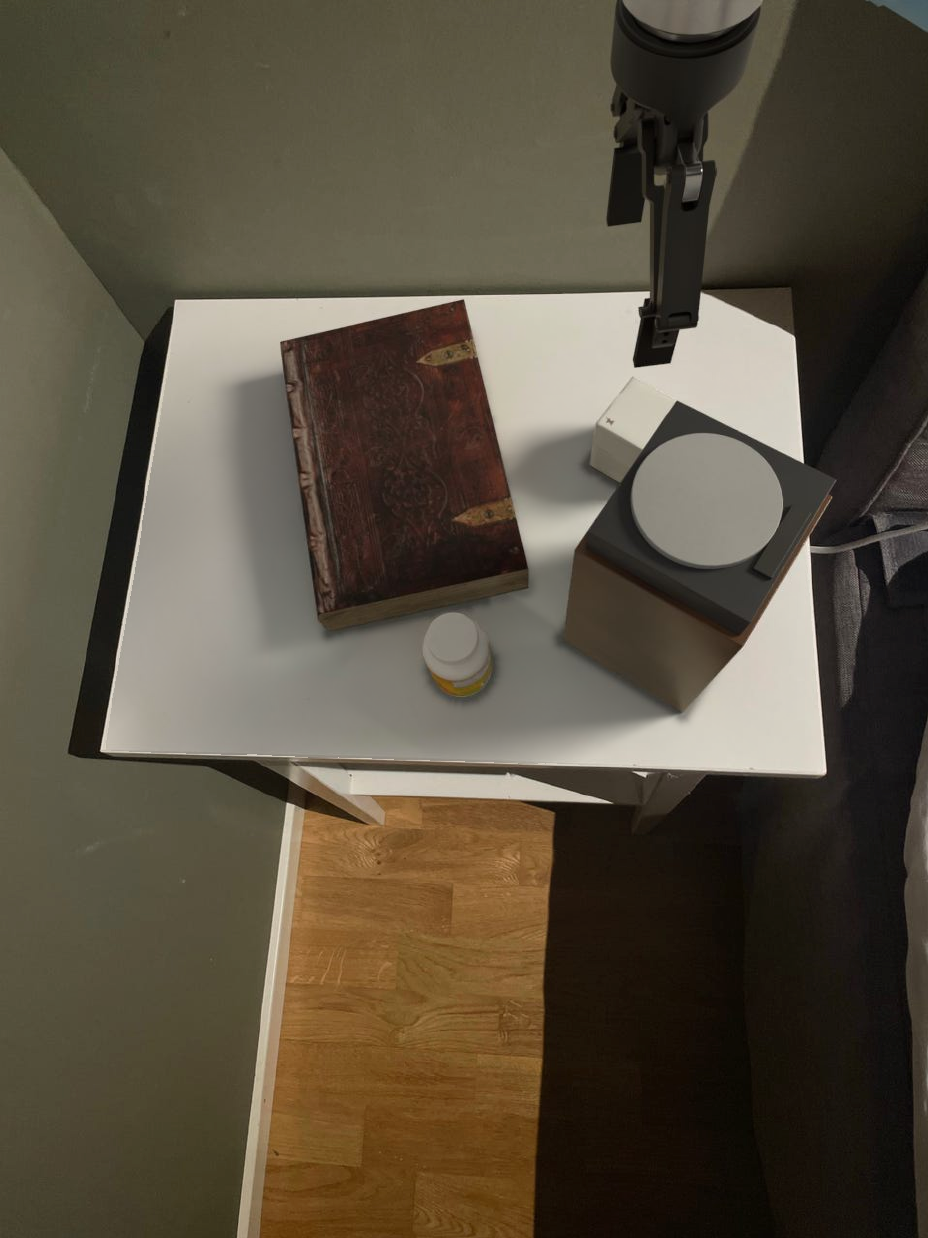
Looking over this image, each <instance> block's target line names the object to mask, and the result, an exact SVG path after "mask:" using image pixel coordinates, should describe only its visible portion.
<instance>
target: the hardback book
mask: <svg viewBox="0 0 928 1238" xmlns="http://www.w3.org/2000/svg"><path fill="white" fill-rule="evenodd" d="M279 346H280V355H281V363H282V369H283V378H284V385H285V391H286V399H287V408H288V413H289V420H290V427H291V436H292V441H293V451H294V457H295V464H296V471H297V478H298V485H299V492H300V500H301V506H302V514H303V522H304V529H305V535H306V543H307V550H308V557H309V565H310V574H311V579H312V586H313V587H312V588H313V593H314V601H315V608H316V615H317V620H318V622H319V623H320V624H321V626H322V627H323V628H324V629H325V630H328V631H330V632H334V631H338V630H342V629H346V628H352V627H355V626H360V625H361V626H362V625H365V624H371V623H374V622H379V621H383V620H389V619H392V618H397V617H398V618H399V617H402V616H407V615H412V614H417V613H422V612H425V611H430V610H435V609H440V608H443V607H448V606H452V605H457V604H461V603H466V602H471V601H476V600H481V599H484V598H490V597H494V596H499V595H502V594H507V593H512V592H513V593H514V592H517V591H523V590H526V589H529V572H530V571H529V564H528V561H527V557H526V552H525V548H524V544H523V540H522V536H521V532H520V527H519V523H518V519H517V515H516V510H515V506H514V502H513V498H512V494H511V489H510V487H509V486H510V485H509V481H508V477H507V473H506V470H505V469H506V468H505V465H504V460H503V457H502V452H501V449H500V443H499V440H498V436H497V435H498V434H497V431H496V427H495V422H494V418H493V415H492V410H491V406H490V402H489V398H488V397H489V396H488V394H487V389H486V385H485V381H484V376H483V372H482V368H481V364H480V360H479V356H478V352H477V347H476V344H475V340H474V335H473V330H472V327H471V321H470V318H469V315H468V309H467V306H466V302H465V299H464V298H462V299H458V300H453V301H449V302H445V303H441V304H437V305H433V306H428V307H424V308H420V309H415V310H411V311H407V312H402V313H398V314H393V315H389V316H385V317H381V318H376V319H372V320H368V321H367V320H366V321H364V322H358V323H355V324H351V325H345V326H342V327H338V328H333V329H329V330H324V331H321V332H315V333H312V334H307V335H302V336H298V337H295V338H290V339H285V340H281V341H279Z"/></svg>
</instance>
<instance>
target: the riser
mask: <svg viewBox="0 0 928 1238" xmlns="http://www.w3.org/2000/svg"><path fill="white" fill-rule="evenodd" d="M665 417H666V416H665ZM665 417H664V418H665ZM663 420H664V419H663ZM663 420H662V421H663ZM661 423H662V422H661ZM661 423H660V424H661ZM659 426H660V425H659ZM659 426H658V427H659ZM657 429H658V428H657ZM657 429H656V430H657ZM655 432H656V431H655ZM655 432H654V433H655ZM653 435H654V434H653ZM653 435H652V436H653ZM651 438H652V437H651ZM651 438H650V439H651ZM648 442H649V441H648ZM648 442H647V443H648ZM646 445H647V444H646ZM646 445H645V446H646ZM644 448H645V447H644ZM644 448H643V449H644ZM642 451H643V450H642ZM642 451H641V452H642ZM640 454H641V453H640ZM640 454H639V455H640ZM638 457H639V456H638ZM638 457H637V458H638ZM636 460H637V459H636ZM636 460H635V461H636ZM634 463H635V462H634ZM634 463H633V464H634ZM631 467H632V466H631ZM631 467H630V468H631ZM629 470H630V469H629ZM629 470H628V471H629ZM627 473H628V472H627ZM627 473H626V474H627ZM625 476H626V475H625ZM625 476H624V477H625ZM623 479H624V478H623ZM623 479H622V480H623ZM621 482H622V481H621ZM621 482H620V483H621ZM620 483H618V485H617V487H615V490H614V491H613V493H614V492H615V491H616V489H617V488H618V486H619V485H620ZM613 493H612V494H611V496H612V495H613ZM611 496H610V497H609V498H608V500H607V501H606V503H605V504H604V506H603V507H602V508H601V510H600V512H599V513H598V514H597V516H596V517H595V519H594V520H593V522H592V524H593V523H594V521H595V520H596V518H597V517H598V516H599V514H600V513H601V511H602V510H603V508H604V507H605V505H606V504H607V502H608V501H609V499H610V498H611ZM832 500H833V496H832V495H831V494H828V495H827V497H826V499H825V500H824V502H823V504H822V505H821V507H820V509H819V510H818V512H817V514H816V515H815V517H814V519H813V520H812V522H811V524H810V525H809V527H808V529H807V530H806V532H805V534H804V535H803V537H802V539H801V540H800V542H799V544H798V545H797V547H796V549H795V550H794V552H793V554H792V555H791V557H790V559H789V560H788V562H787V564H786V565H785V567H784V569H783V570H782V572H781V574H780V575H779V577H778V579H777V580H776V582H775V584H774V585H773V587H772V589H771V590H770V592H769V594H768V595H767V597H766V599H765V600H764V602H763V604H762V605H761V607H760V609H759V610H758V612H757V614H756V615H755V617H754V619H753V620H752V622H751V623H750V624H749V626H748V627H747V628H746V629H745V630H744V631H743V633H742V634H741V635H738V634H736V633H734V632H732V631H731V630H729V629H727V628H725V627H724V626H722V625H720V624H718V623H717V622H715V621H713V620H711V619H710V618H708V617H706V616H704V615H703V614H701V613H699V612H697V611H696V610H694V609H692V608H690V607H689V606H687V605H685V604H683V603H681V602H680V601H678V600H676V599H674V598H673V597H671V596H669V595H667V594H666V593H664V592H662V591H660V590H659V589H657V588H655V587H653V586H652V585H650V584H648V583H646V582H645V581H643V580H641V579H639V578H638V577H636V576H634V575H632V574H630V573H629V572H627V571H625V570H623V569H622V568H620V567H618V566H616V565H615V564H613V563H611V562H609V561H608V560H606V559H604V558H602V557H601V556H599V555H597V554H595V553H594V552H592V551H590V550H588V549H587V548H585V545H586V539H587V533H588V530H589V529H590V527H591V526H592V524H591V525H590V527H589V528H588V529H587V531H586V532H585V533H584V535H583V536H582V538H581V539H580V541H579V543H578V544H577V545H576V546H575V548H574V551H573V558H572V567H571V573H570V581H569V589H568V594H567V595H568V597H567V602H566V603H567V604H566V611H565V619H564V626H563V635H562V641H563V642H565V643H566V644H568V645H570V646H571V647H573V648H575V649H576V650H578V651H580V652H581V653H583V654H585V656H587V657H589V658H591V659H593V660H595V661H596V662H598V664H599V663H600V664H601V665H603V666H604V667H606V668H607V669H609V670H611V671H613V672H614V673H616V674H618V675H619V676H621V677H622V678H624V679H626V680H627V681H629V682H631V683H633V684H634V685H635V686H637V687H639V688H641V690H644V691H646V692H647V693H649V694H650V695H652V696H654V697H656V698H657V699H658V700H660V701H662V702H664V703H665V704H667V705H668V706H670V707H672V708H673V709H675V710H677V711H678V712H680V713H684V712H685V711H686V710H687V709H688V708H689V707H690V706H691V705H692V703H693V702H694V701H695V700H696V699H697V698H698V697H699V696H700V695H701V694H702V692H704V690H705V689H706V688H707V687H708V686H709V685H710V684H711V683H712V682H713V680H714V679H715V678H716V677H717V676H718V675H719V674H720V673H721V672H722V670H723V669H725V667H726V666H727V665H728V664H729V663H730V662H731V661H732V660H733V658H734V657H735V656H736V655H738V653H739V652H740V651H741V650H742V648H744V646H745V645H746V643H747V641H748V640H749V638H750V636H751V635H752V633H753V631H754V630H755V628H756V626H757V625H758V623H759V621H760V620H761V618H762V616H763V614H764V613H765V612H766V610H767V608H768V606H769V605H770V603H771V601H772V600H773V598H774V596H775V595H776V594H777V591H778V589H779V588H780V586H781V584H782V583H783V581H784V580H785V578H786V576H787V574H788V573H789V571H790V569H791V568H792V566H793V564H794V562H795V561H796V560H797V558H798V556H799V554H800V553H801V551H802V549H803V548H804V546H805V544H806V542H808V540H809V538H810V536H811V535H812V532H813V531H814V529H815V528H816V526H817V524H818V523H819V521H820V520H821V518H822V516H823V514H824V512H825V511H826V509H827V508H828V506H829V504H830V503H831V501H832Z"/></svg>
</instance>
